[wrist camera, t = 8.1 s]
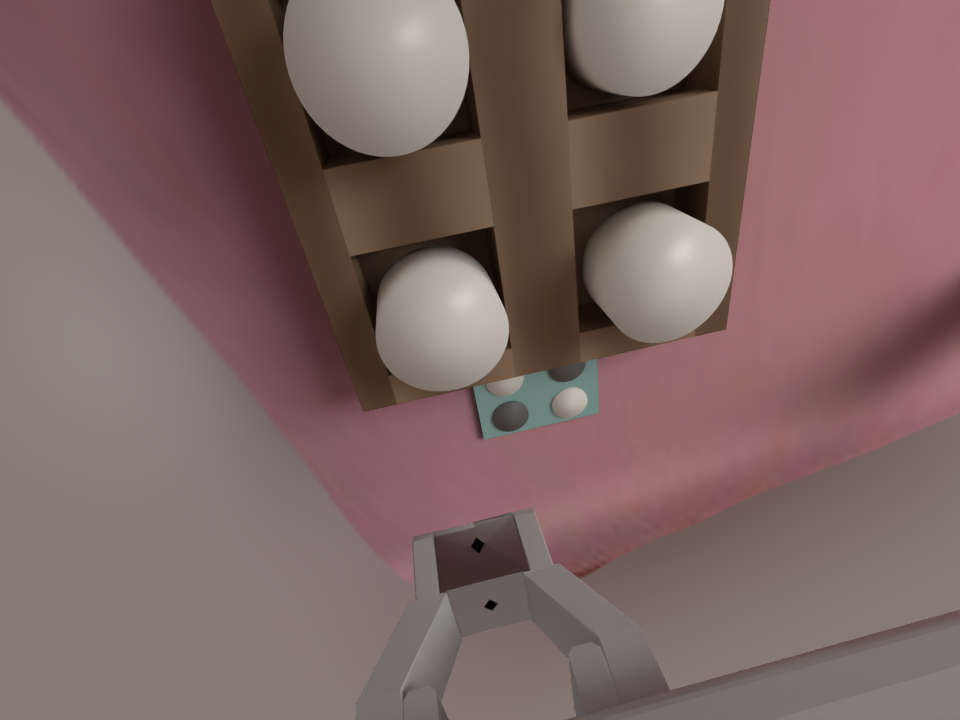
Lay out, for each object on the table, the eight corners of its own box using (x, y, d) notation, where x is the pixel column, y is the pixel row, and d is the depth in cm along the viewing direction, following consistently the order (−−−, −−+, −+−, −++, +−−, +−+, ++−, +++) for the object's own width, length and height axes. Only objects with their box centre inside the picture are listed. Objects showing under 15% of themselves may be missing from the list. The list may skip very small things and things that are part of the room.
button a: (682, -83, 19) (734, -109, 16) (674, 79, 22) (716, 82, 19) (545, -58, 19) (573, -80, 16) (555, 103, 22) (581, 109, 19)
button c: (695, 189, 22) (740, 208, 19) (686, 298, 25) (724, 328, 22) (578, 214, 22) (607, 236, 19) (583, 321, 25) (609, 354, 22)
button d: (484, 234, 22) (499, 259, 19) (501, 339, 25) (516, 375, 22) (362, 260, 21) (358, 290, 19) (394, 363, 24) (394, 403, 22)
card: (594, 334, 30) (597, 338, 29) (596, 409, 33) (599, 414, 33) (468, 362, 29) (469, 367, 29) (483, 435, 33) (484, 441, 32)
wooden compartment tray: (725, -159, 19) (798, -208, 16) (687, 299, 30) (725, 329, 26) (212, -71, 18) (171, -103, 14) (366, 370, 29) (363, 411, 25)
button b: (439, -51, 16) (450, -76, 14) (468, 128, 19) (482, 139, 17) (275, -22, 16) (251, -41, 13) (330, 155, 19) (320, 171, 16)
